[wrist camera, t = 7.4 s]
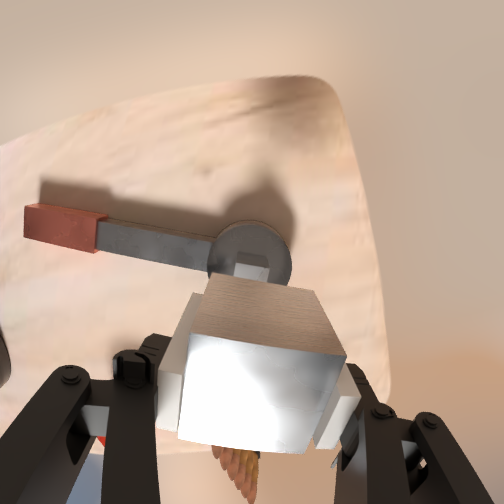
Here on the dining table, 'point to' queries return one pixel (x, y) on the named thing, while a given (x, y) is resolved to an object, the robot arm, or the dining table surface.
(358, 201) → the dining table surface
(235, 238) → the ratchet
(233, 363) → the brushed steel cube
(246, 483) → the ammunition clip
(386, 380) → the dining table surface
